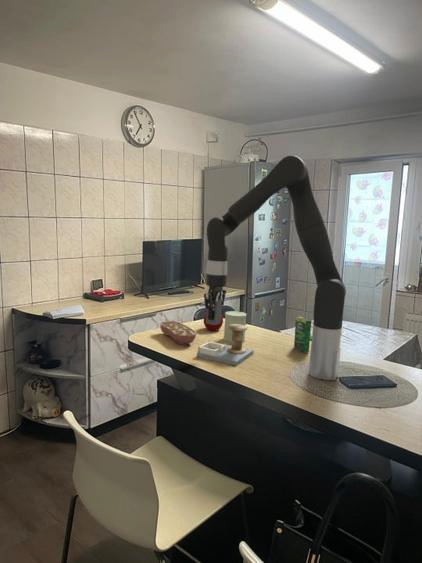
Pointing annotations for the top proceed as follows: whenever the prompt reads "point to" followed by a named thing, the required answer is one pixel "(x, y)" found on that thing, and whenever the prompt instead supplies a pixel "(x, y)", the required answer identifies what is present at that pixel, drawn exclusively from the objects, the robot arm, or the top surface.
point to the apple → (213, 327)
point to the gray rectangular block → (217, 313)
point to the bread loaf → (178, 332)
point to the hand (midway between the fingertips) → (213, 318)
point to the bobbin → (237, 339)
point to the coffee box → (302, 334)
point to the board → (221, 353)
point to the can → (233, 318)
